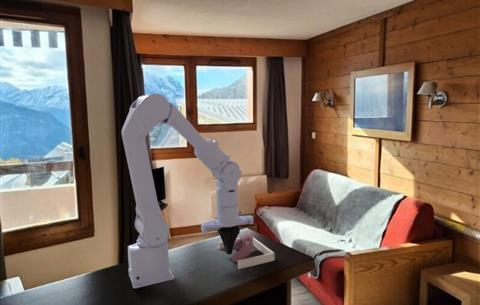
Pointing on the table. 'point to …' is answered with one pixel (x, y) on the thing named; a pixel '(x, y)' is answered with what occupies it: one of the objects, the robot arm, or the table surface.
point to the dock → (254, 260)
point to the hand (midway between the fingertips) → (228, 252)
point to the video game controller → (243, 247)
